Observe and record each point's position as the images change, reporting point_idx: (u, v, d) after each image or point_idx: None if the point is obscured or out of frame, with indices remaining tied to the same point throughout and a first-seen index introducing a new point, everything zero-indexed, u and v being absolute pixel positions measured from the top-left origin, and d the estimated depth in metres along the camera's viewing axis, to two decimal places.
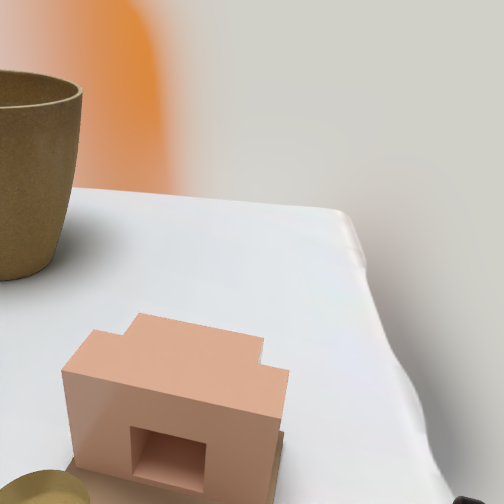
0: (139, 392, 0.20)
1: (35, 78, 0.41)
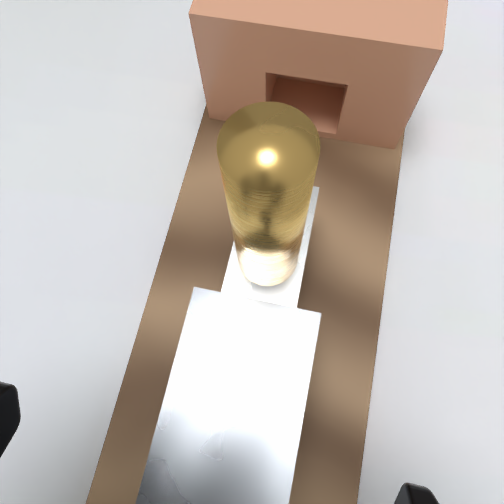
0: (278, 32, 0.18)
1: None
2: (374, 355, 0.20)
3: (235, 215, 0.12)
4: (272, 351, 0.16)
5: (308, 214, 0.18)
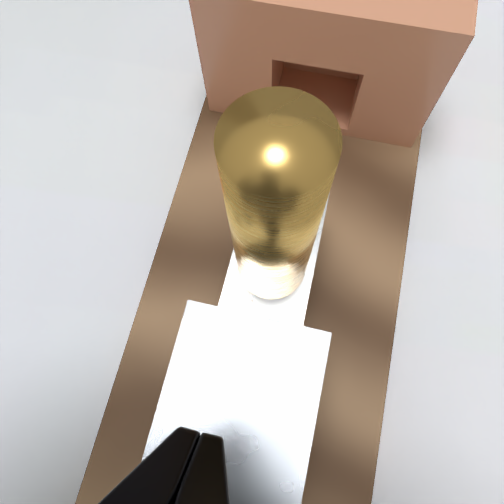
0: (288, 14, 0.16)
1: None
2: (387, 375, 0.18)
3: (235, 223, 0.10)
4: (275, 375, 0.14)
5: None
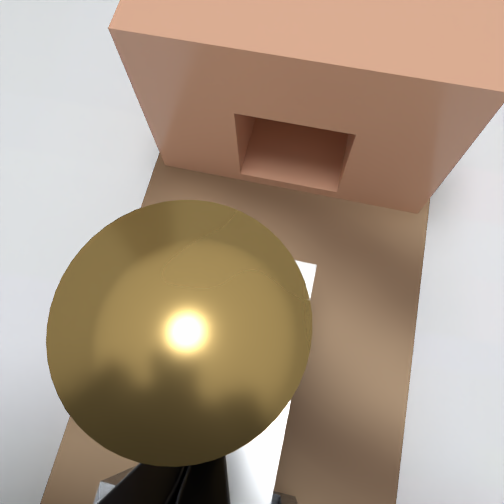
0: (248, 59, 0.12)
1: None
2: None
3: None
4: None
5: None
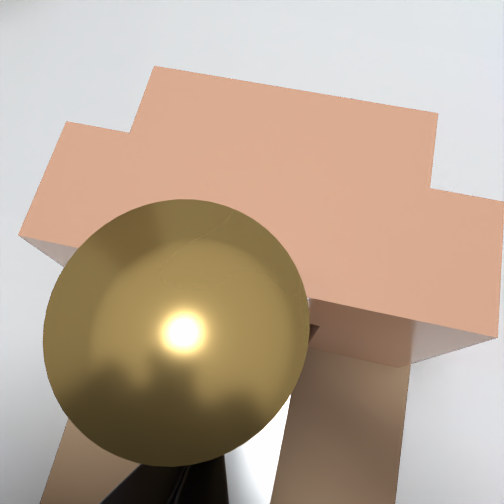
0: None
1: None
2: None
3: None
4: None
5: None
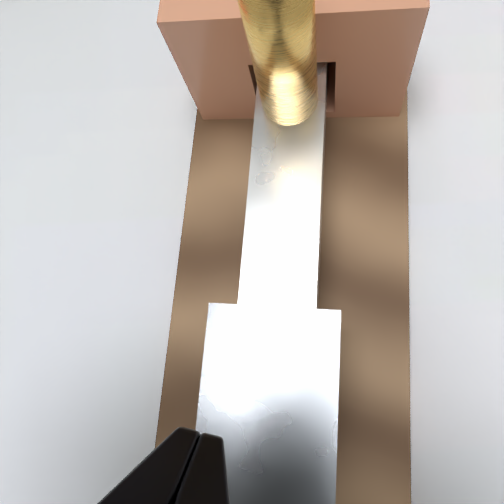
0: None
1: None
2: (408, 337, 0.20)
3: (249, 14, 0.14)
4: (296, 356, 0.16)
5: None
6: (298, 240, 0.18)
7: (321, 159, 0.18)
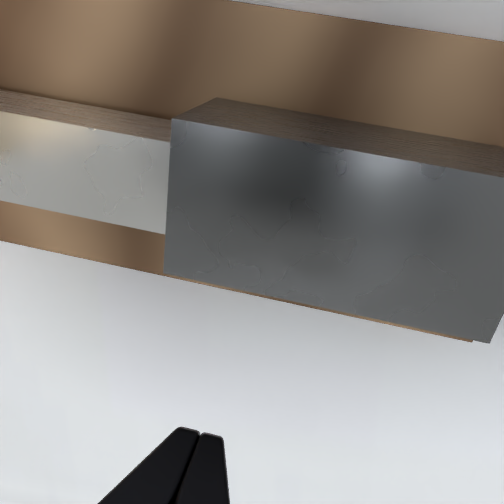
0: None
1: None
2: (235, 3, 0.15)
3: None
4: (227, 182, 0.12)
5: None
6: (92, 154, 0.14)
7: None
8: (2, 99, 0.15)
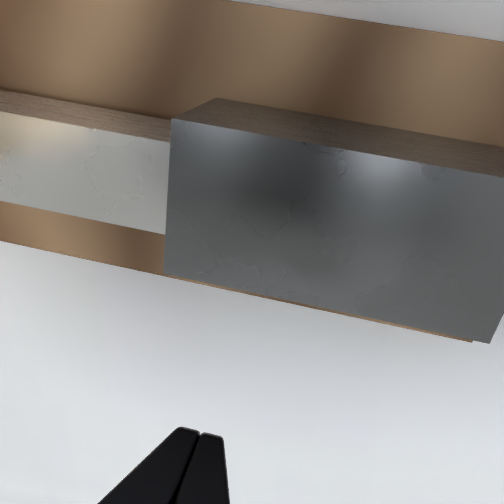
0: None
1: None
2: (235, 3, 0.15)
3: None
4: (227, 182, 0.12)
5: None
6: (92, 154, 0.14)
7: None
8: (2, 99, 0.15)
